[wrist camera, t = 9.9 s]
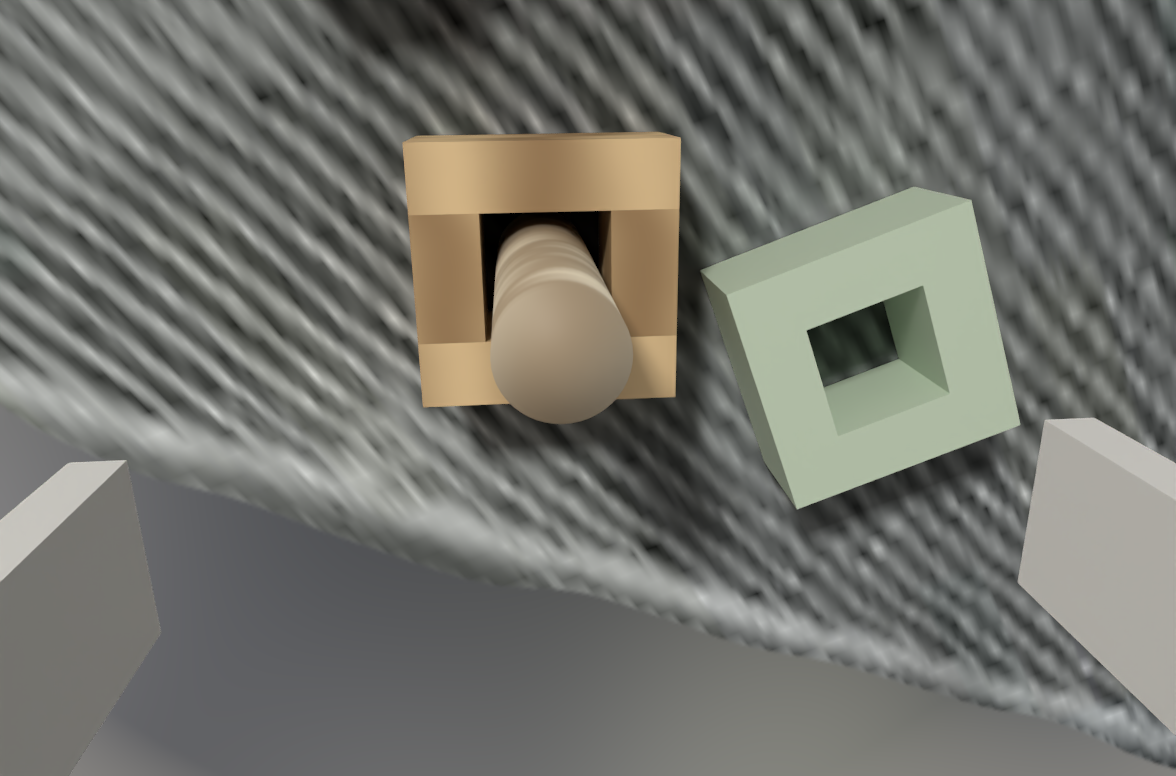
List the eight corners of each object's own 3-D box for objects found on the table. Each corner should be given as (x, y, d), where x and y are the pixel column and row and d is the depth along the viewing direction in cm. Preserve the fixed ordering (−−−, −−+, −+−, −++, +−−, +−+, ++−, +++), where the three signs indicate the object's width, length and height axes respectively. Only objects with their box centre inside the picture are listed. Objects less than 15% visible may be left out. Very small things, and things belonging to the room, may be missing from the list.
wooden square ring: (658, 131, 33) (681, 137, 29) (655, 360, 36) (675, 397, 32) (416, 135, 32) (402, 142, 28) (433, 369, 35) (422, 407, 31)
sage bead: (913, 186, 34) (971, 199, 30) (961, 387, 37) (1020, 424, 33) (699, 270, 35) (726, 295, 30) (764, 462, 38) (796, 509, 33)
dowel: (583, 208, 34) (633, 284, 20) (584, 295, 35) (632, 421, 21) (495, 210, 33) (486, 288, 20) (498, 298, 34) (493, 427, 21)
